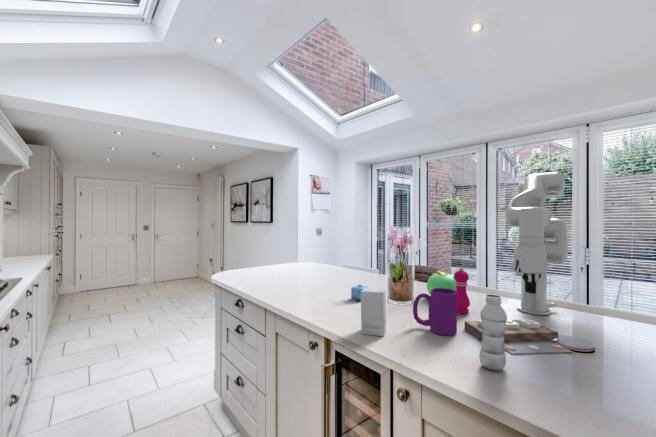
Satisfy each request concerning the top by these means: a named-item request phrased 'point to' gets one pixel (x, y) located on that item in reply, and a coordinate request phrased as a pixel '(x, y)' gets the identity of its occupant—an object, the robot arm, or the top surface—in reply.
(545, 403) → the top surface
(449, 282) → the toy bird
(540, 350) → the pattern card
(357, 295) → the teapot
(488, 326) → the plastic bottle
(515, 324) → the middle button
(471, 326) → the button board
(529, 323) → the button
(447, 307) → the mug
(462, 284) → the pepper mill
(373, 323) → the skincare box
